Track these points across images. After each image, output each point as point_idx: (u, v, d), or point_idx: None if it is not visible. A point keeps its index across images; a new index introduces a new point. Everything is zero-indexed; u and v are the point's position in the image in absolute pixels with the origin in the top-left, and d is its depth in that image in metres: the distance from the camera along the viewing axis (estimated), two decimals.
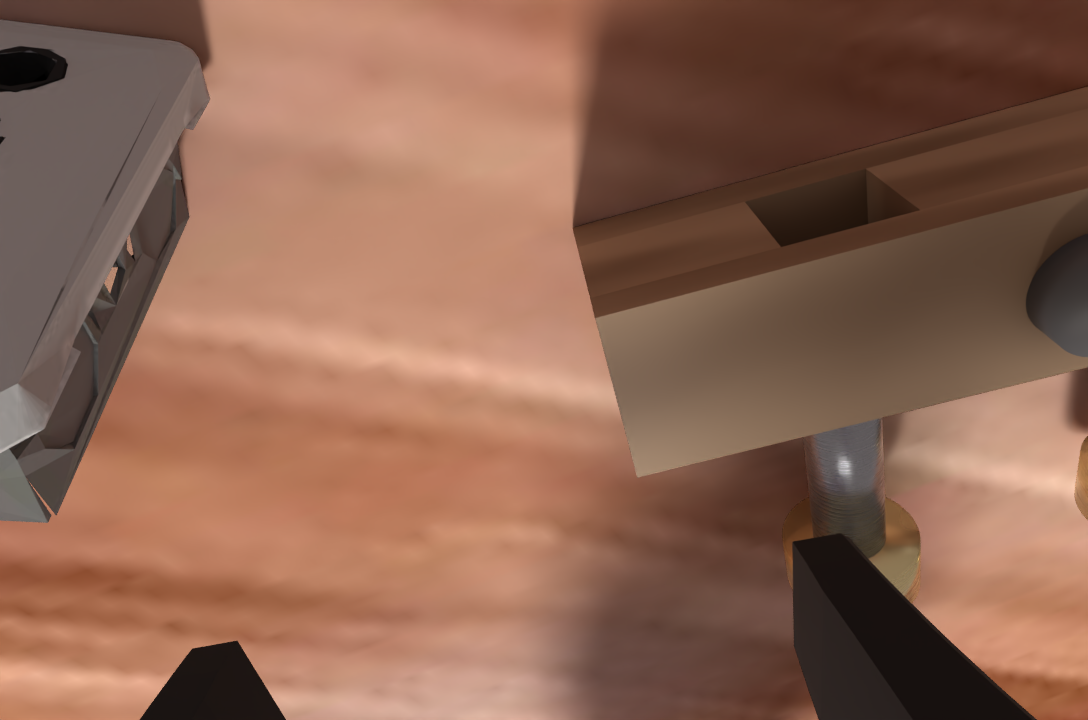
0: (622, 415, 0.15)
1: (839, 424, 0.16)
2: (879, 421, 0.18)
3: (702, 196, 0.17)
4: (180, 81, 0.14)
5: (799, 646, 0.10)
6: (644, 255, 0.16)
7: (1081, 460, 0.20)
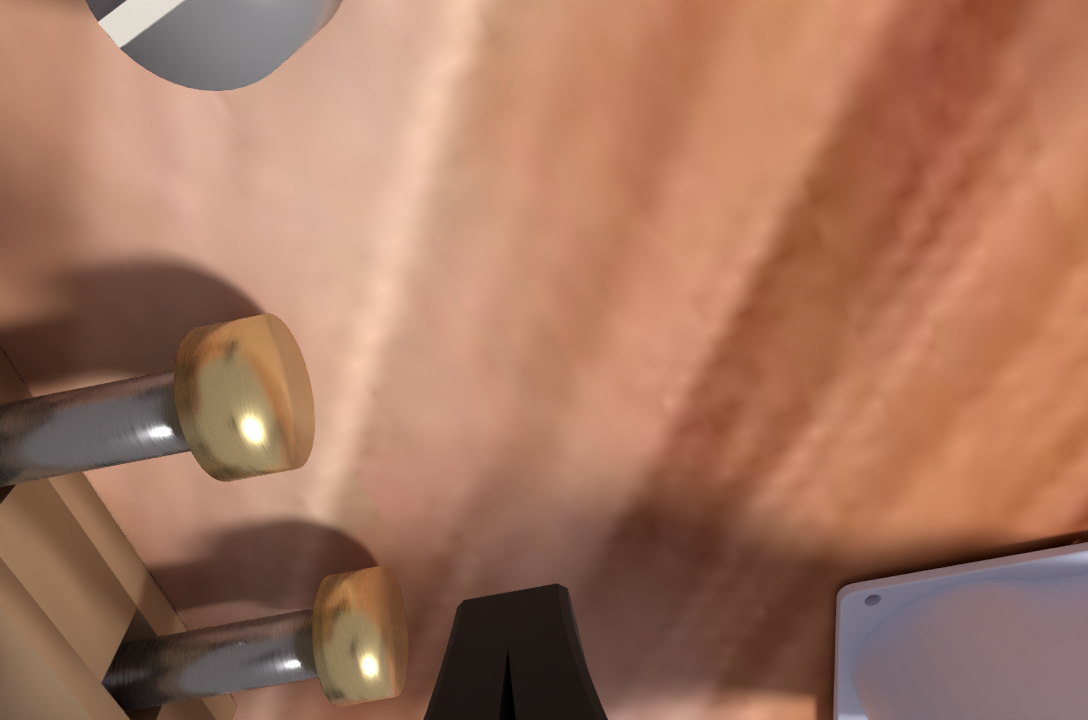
0: None
1: None
2: (171, 669, 0.20)
3: None
4: None
5: None
6: None
7: None
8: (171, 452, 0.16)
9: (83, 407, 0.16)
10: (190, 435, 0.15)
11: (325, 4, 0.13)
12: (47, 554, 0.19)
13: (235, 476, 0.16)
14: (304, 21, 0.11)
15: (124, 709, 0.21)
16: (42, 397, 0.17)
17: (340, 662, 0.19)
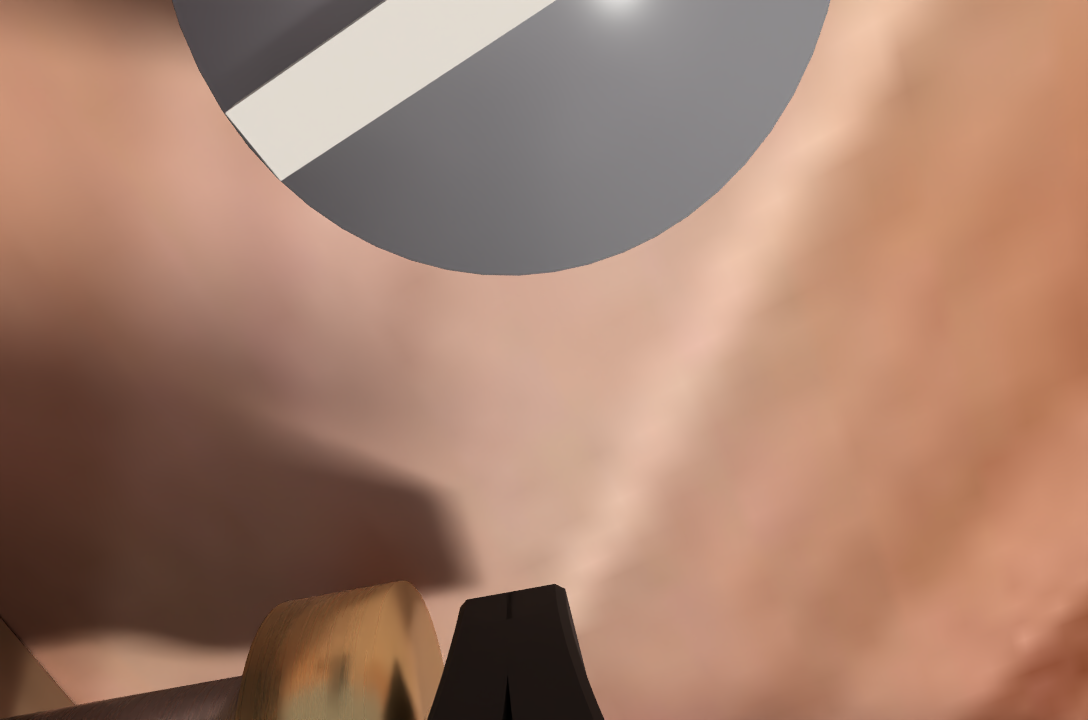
0: None
1: None
2: None
3: None
4: None
5: None
6: None
7: None
8: None
9: None
10: None
11: None
12: None
13: None
14: None
15: None
16: None
17: None
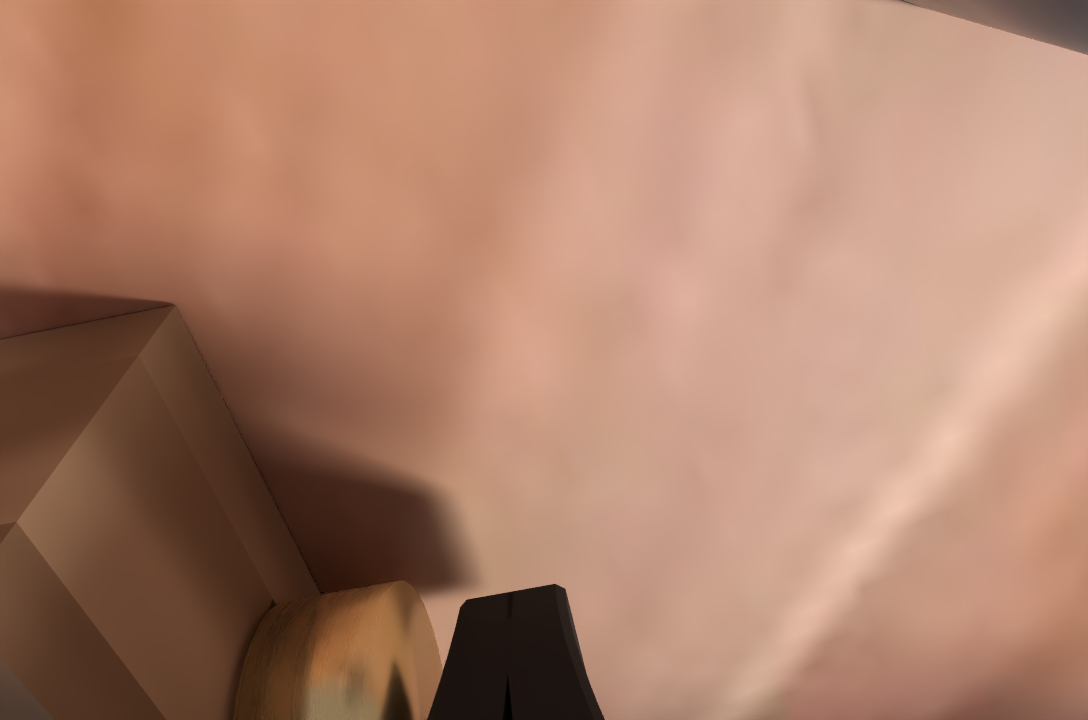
0: None
1: None
2: None
3: None
4: None
5: None
6: None
7: None
8: None
9: None
10: None
11: None
12: None
13: None
14: None
15: None
16: None
17: None
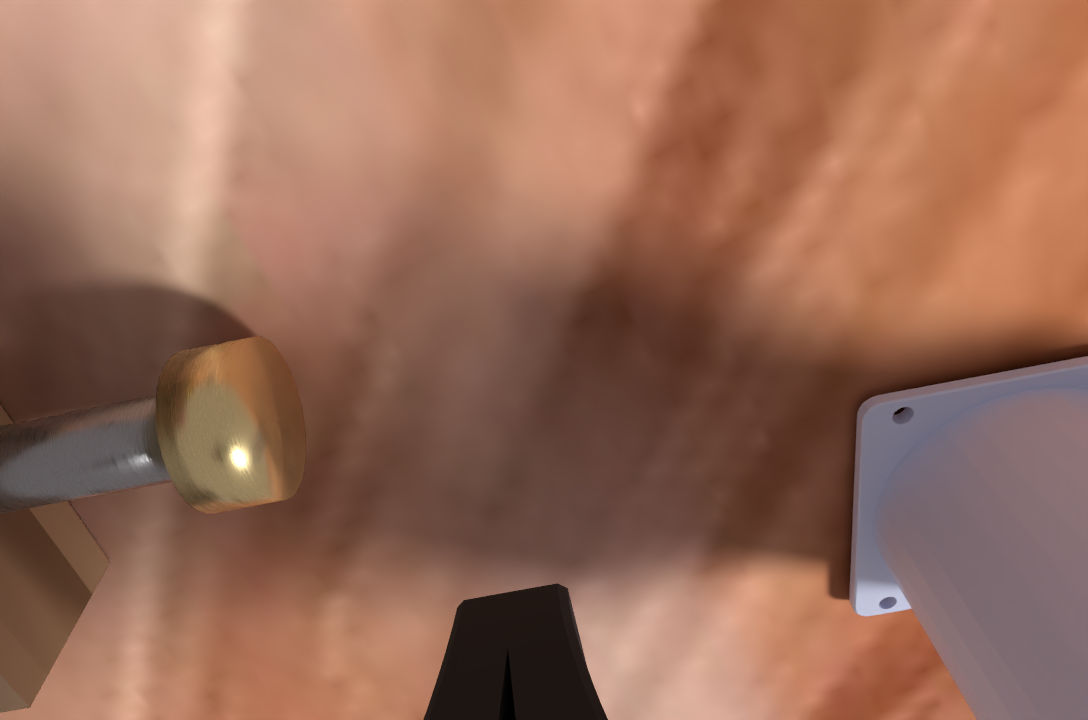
0: None
1: None
2: None
3: None
4: None
5: None
6: None
7: None
8: None
9: None
10: None
11: None
12: None
13: None
14: None
15: None
16: None
17: (191, 437, 0.14)
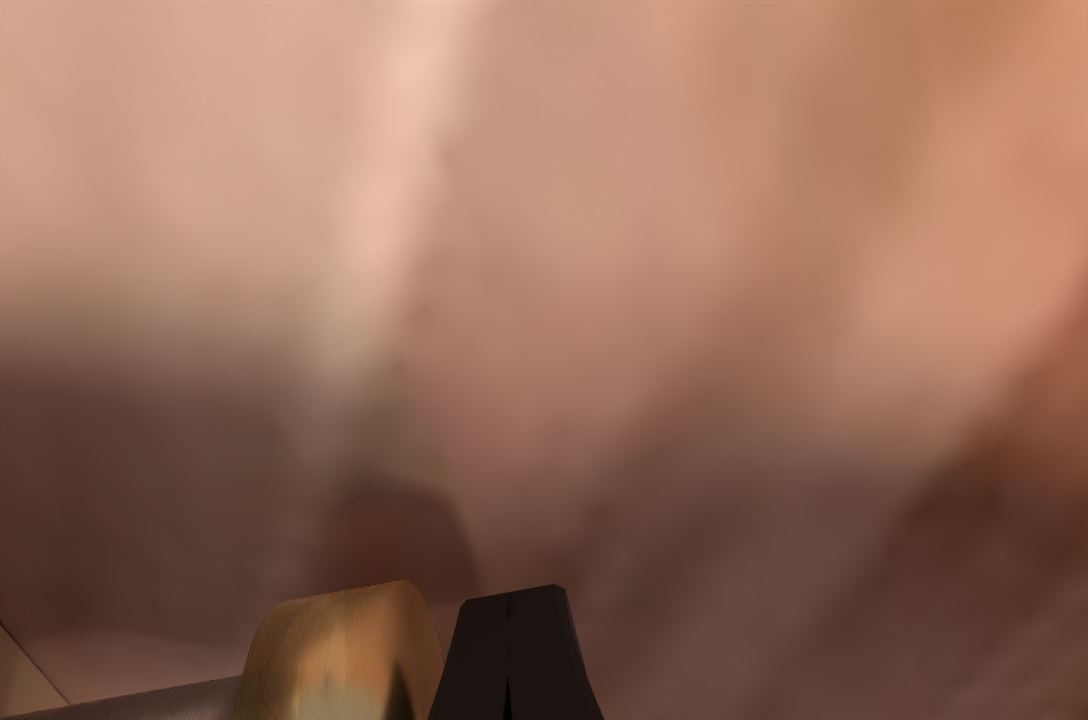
0: None
1: None
2: None
3: None
4: None
5: None
6: None
7: None
8: None
9: None
10: None
11: None
12: None
13: None
14: None
15: None
16: None
17: None
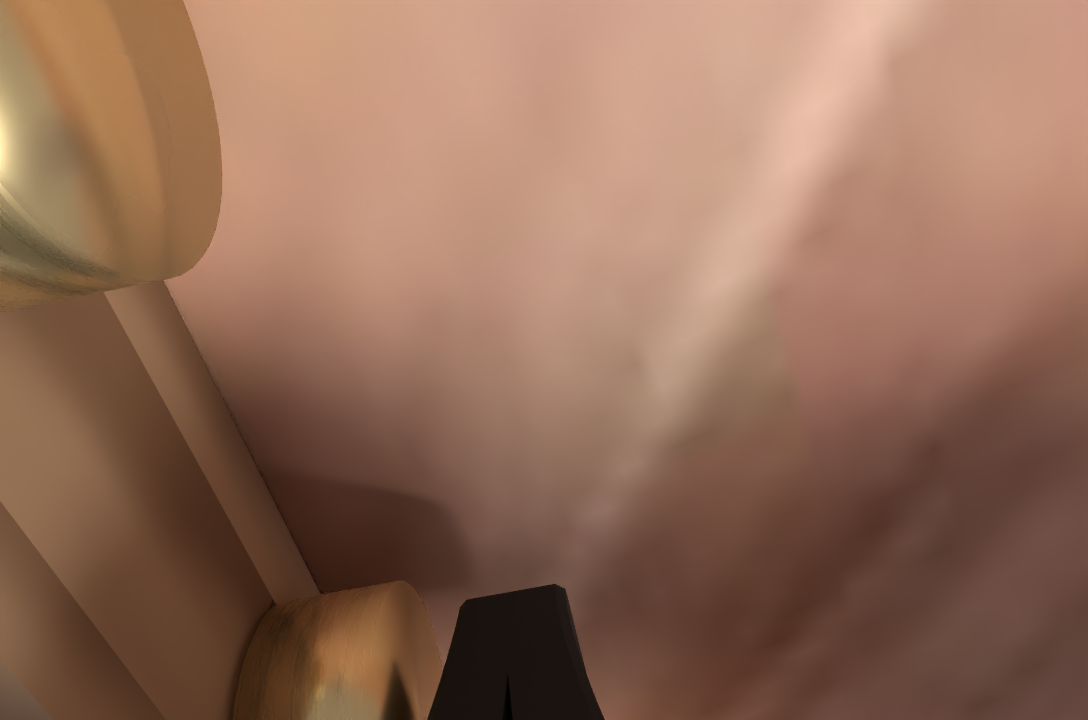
0: None
1: None
2: None
3: None
4: None
5: None
6: None
7: None
8: None
9: None
10: None
11: None
12: (86, 447, 0.07)
13: None
14: None
15: None
16: None
17: None
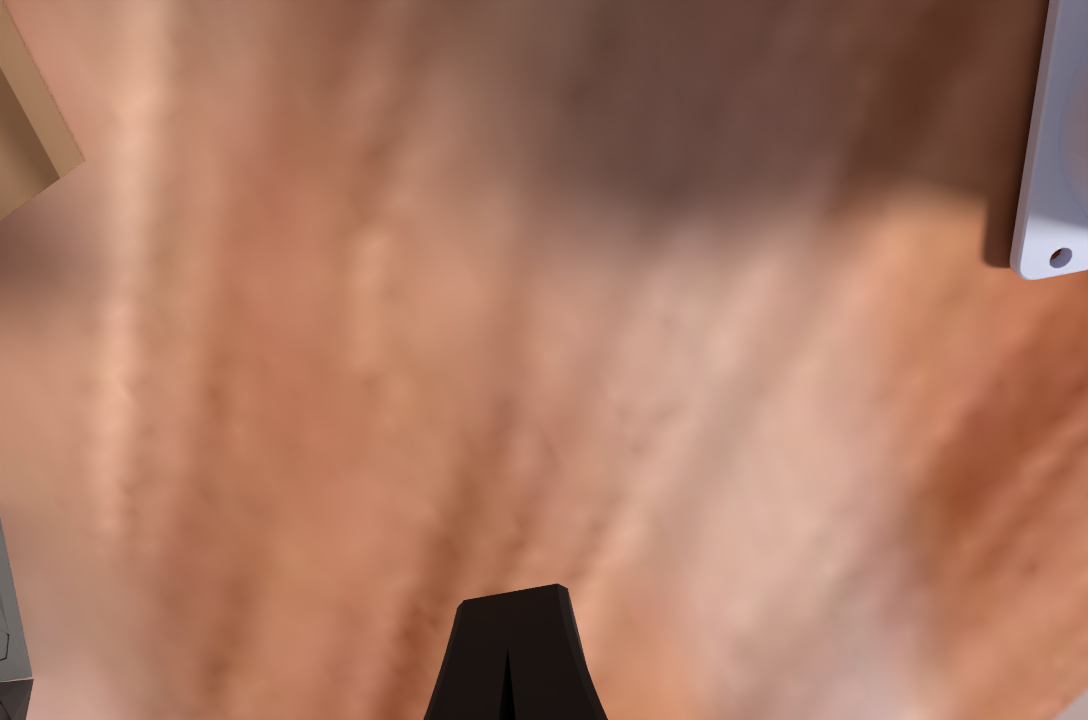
0: None
1: None
2: None
3: None
4: None
5: None
6: None
7: None
8: None
9: None
10: None
11: None
12: None
13: None
14: None
15: None
16: None
17: None
